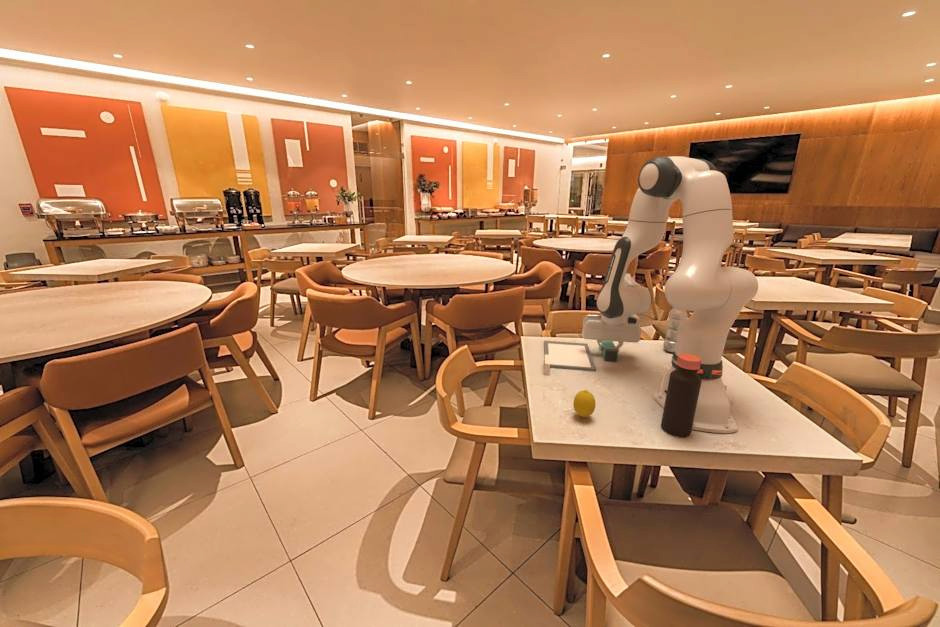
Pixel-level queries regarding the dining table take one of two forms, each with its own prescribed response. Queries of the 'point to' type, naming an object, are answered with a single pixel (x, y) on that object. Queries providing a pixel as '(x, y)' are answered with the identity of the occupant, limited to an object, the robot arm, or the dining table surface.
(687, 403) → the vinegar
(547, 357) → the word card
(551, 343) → the writing board
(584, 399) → the lemon
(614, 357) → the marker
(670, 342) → the plastic bottle
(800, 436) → the dining table surface
